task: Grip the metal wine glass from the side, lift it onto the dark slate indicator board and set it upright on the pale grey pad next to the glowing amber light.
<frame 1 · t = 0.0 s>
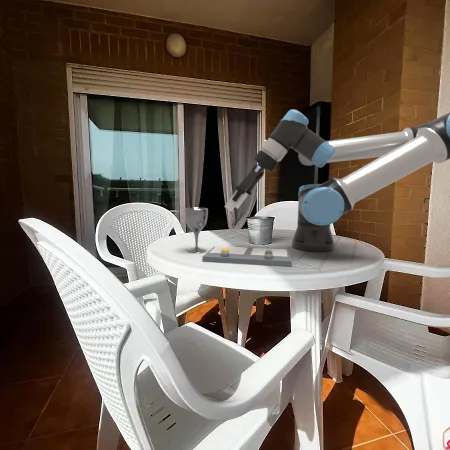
hand: (231, 207, 92), 15 cm above the table, tool tilted 35°, fingers open, 13 cm apart
indicator board: (248, 257, 86), on the table
wine glass: (196, 251, 95), on the table
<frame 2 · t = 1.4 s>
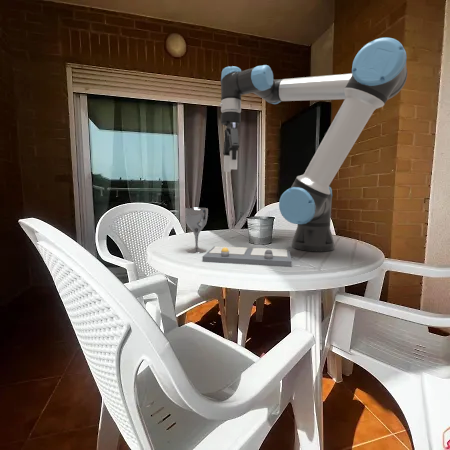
hand: (230, 170, 104), 29 cm above the table, tool pointing down, fingers open, 13 cm apart
nothing on the table moved.
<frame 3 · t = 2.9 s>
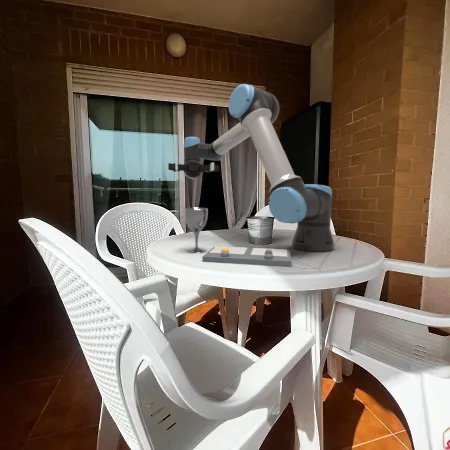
hand: (194, 165, 101), 30 cm above the table, tool horizontal, fingers open, 13 cm apart
nothing on the table moved.
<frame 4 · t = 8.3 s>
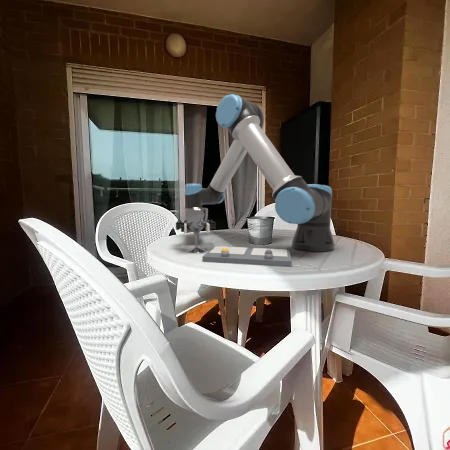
hand: (197, 228, 89), 9 cm above the table, tool horizontal, fingers closed on wine glass, 7 cm apart
wine glass: (196, 251, 95), on the table, touching gripper
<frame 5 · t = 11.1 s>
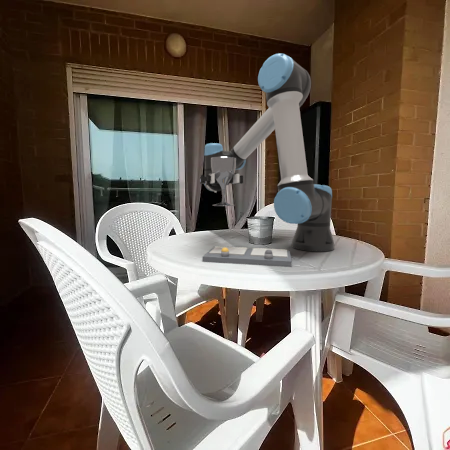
hand: (225, 178, 82), 25 cm above the table, tool horizontal, fingers closed on wine glass, 7 cm apart
wine glass: (223, 206, 88), point 16 cm above the table, touching gripper
when the fingers open (11 cm above the table, at t = 14.3 s): wine glass drops 1 cm, resting on indicator board.
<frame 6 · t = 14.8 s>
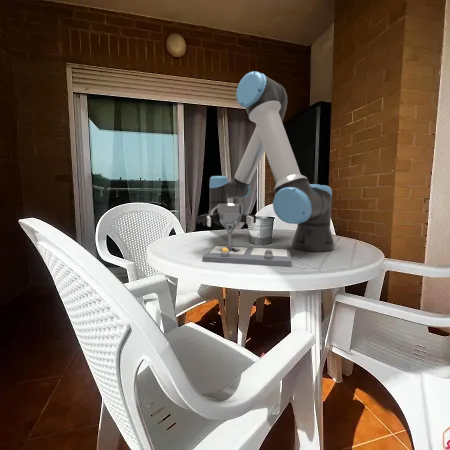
hand: (231, 222, 84), 11 cm above the table, tool horizontal, fingers open, 13 cm apart
wine glass: (229, 250, 88), point 2 cm above the table, touching indicator board
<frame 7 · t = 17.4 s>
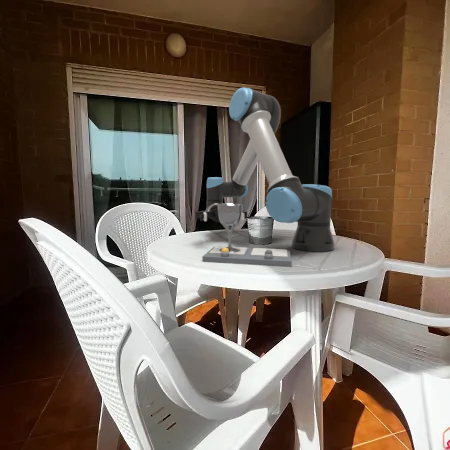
hand: (224, 217, 96), 12 cm above the table, tool horizontal, fingers open, 13 cm apart
nothing on the table moved.
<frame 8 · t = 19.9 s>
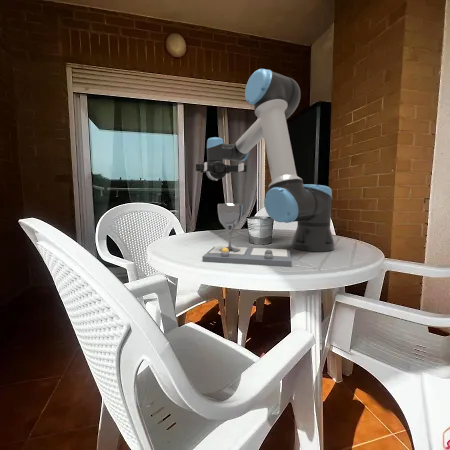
hand: (224, 166, 98), 30 cm above the table, tool horizontal, fingers open, 13 cm apart
nothing on the table moved.
at the end: wine glass 0.2 cm from the target spot on the indicator board, point 1.7 cm above the indicator board's base; wine glass tilted 0°; the gripper is holding nothing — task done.
